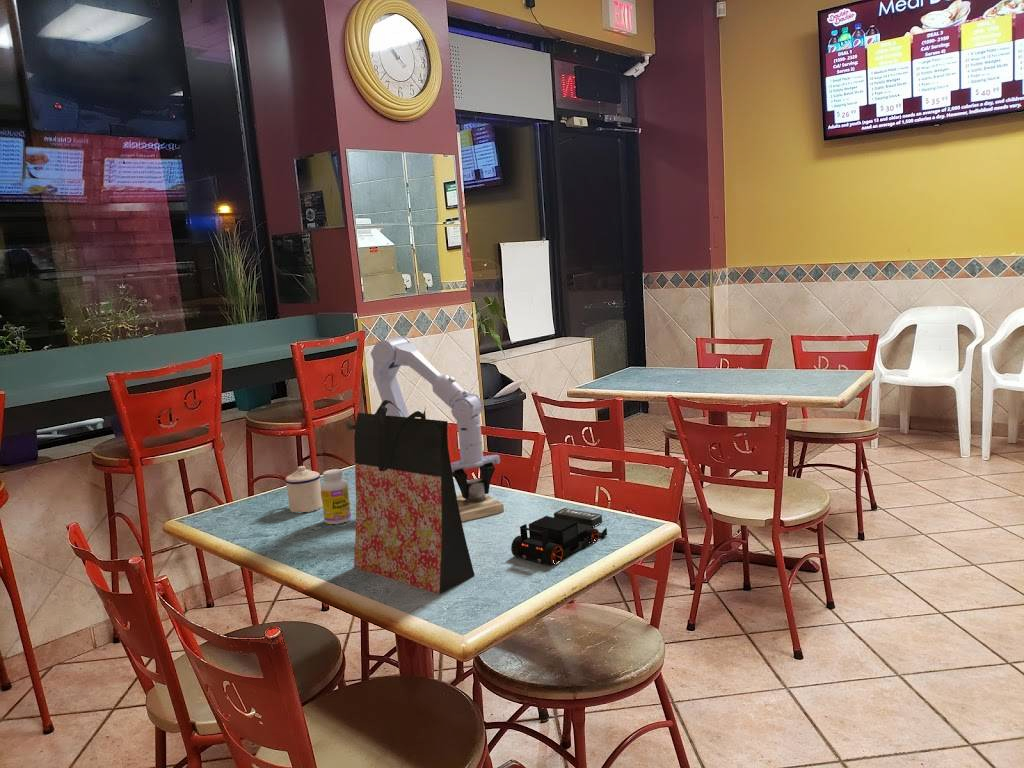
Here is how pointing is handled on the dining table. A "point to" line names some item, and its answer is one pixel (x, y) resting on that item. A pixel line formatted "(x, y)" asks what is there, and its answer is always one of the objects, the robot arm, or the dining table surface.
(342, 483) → the supplement bottle
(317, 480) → the teacup with lid
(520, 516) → the dining table surface
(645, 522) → the dining table surface
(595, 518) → the multiport hub
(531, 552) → the toy truck
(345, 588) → the dining table surface
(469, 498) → the keyhole peg
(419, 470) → the gift bag
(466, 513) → the keyhole plate
